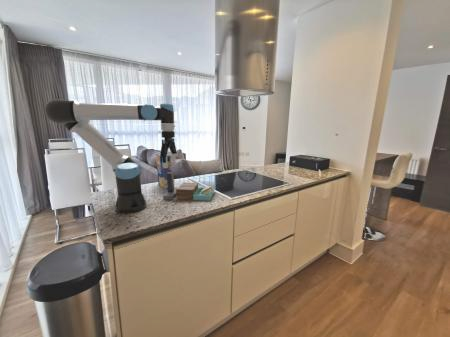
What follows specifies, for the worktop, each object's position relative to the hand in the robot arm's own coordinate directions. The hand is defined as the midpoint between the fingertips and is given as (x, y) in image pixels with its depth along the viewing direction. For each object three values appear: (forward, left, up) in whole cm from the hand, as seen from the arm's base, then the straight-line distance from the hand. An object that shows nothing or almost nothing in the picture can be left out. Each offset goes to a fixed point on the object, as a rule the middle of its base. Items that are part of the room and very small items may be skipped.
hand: (169, 165), depth 128 cm
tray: (0, -21, -19) cm, 28 cm away
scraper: (0, -1, -19) cm, 19 cm away
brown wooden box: (0, -11, -19) cm, 22 cm away
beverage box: (+20, +12, -19) cm, 30 cm away
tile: (0, -22, -14) cm, 26 cm away
